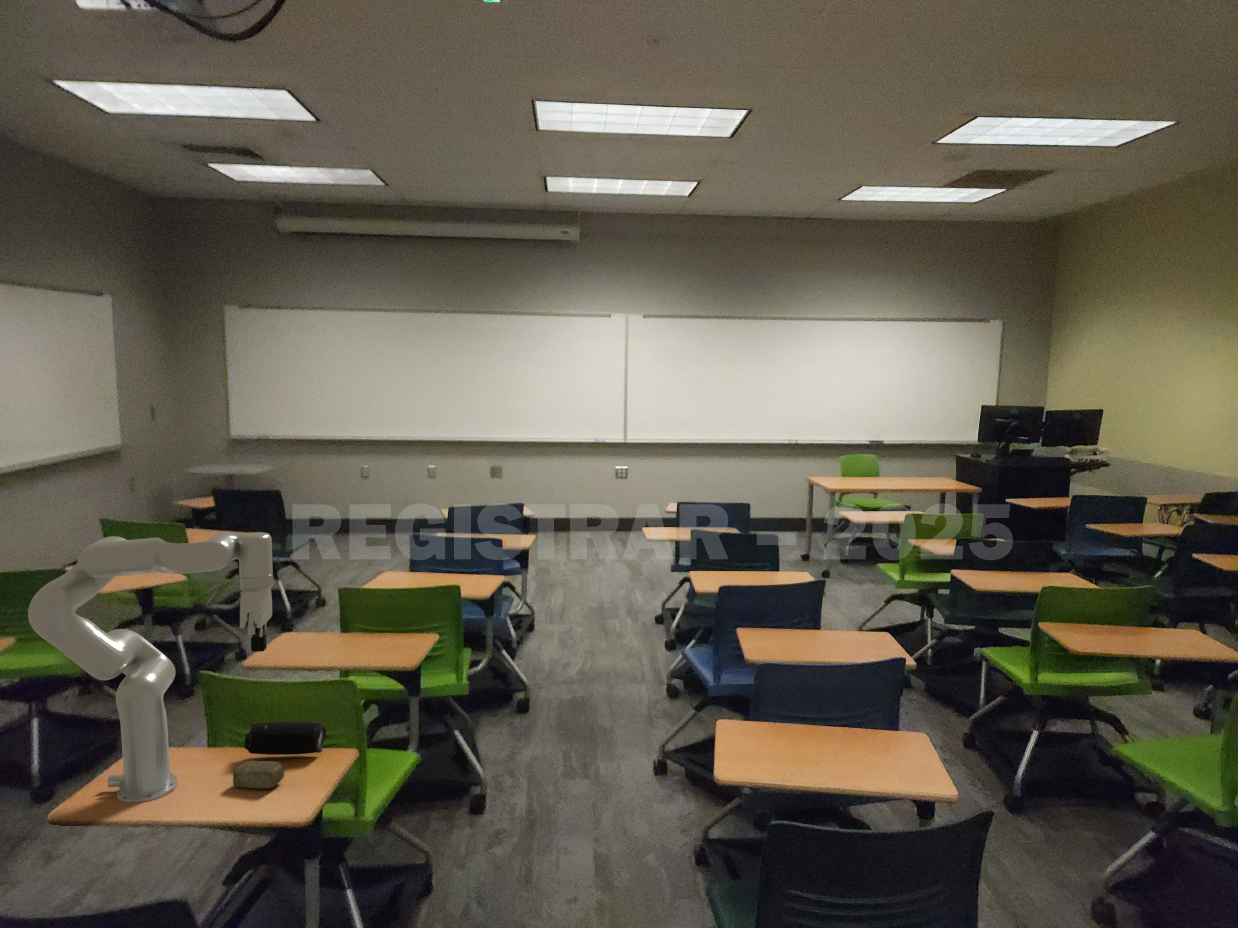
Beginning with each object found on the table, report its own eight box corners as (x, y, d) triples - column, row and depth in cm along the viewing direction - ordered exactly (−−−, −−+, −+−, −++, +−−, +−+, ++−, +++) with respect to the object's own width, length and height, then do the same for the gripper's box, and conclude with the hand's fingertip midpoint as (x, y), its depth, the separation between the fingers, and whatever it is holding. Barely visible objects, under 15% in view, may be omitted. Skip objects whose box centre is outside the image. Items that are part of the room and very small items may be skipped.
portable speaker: (243, 730, 189) (318, 729, 192) (256, 716, 198) (327, 716, 201) (242, 761, 189) (317, 760, 192) (255, 745, 199) (326, 744, 201)
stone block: (273, 790, 176) (270, 772, 175) (231, 789, 178) (229, 771, 177) (286, 777, 182) (284, 759, 181) (246, 776, 183) (243, 758, 183)
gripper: (251, 573, 184) (254, 640, 186) (229, 590, 169) (231, 662, 171) (281, 573, 185) (283, 639, 187) (261, 589, 170) (264, 661, 172)
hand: (258, 650), depth 179 cm, fingers closed
